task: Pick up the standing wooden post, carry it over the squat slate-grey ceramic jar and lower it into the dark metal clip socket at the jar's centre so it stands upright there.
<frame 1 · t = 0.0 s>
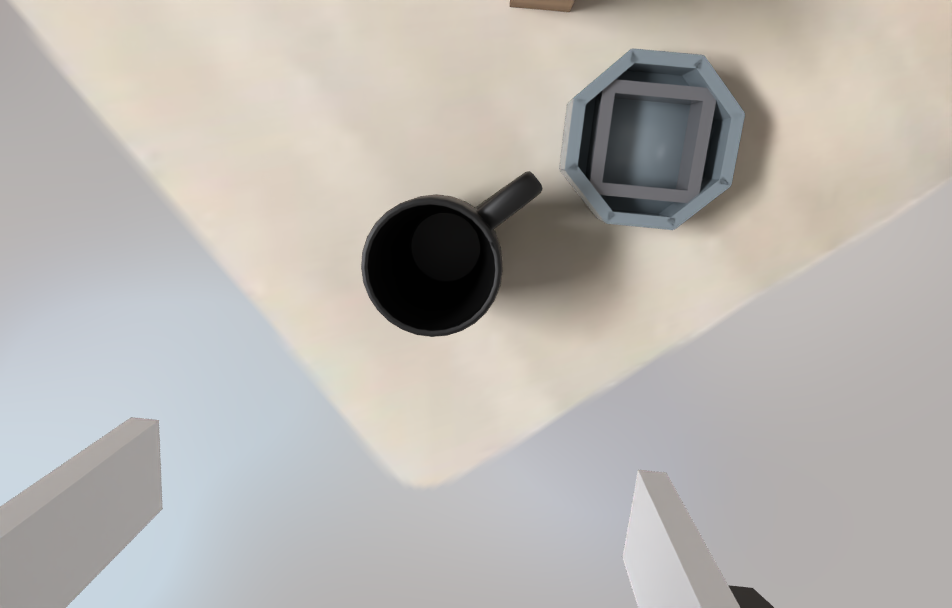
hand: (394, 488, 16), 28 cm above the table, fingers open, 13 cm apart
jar: (640, 144, 40), on the table
mug: (466, 231, 42), on the table
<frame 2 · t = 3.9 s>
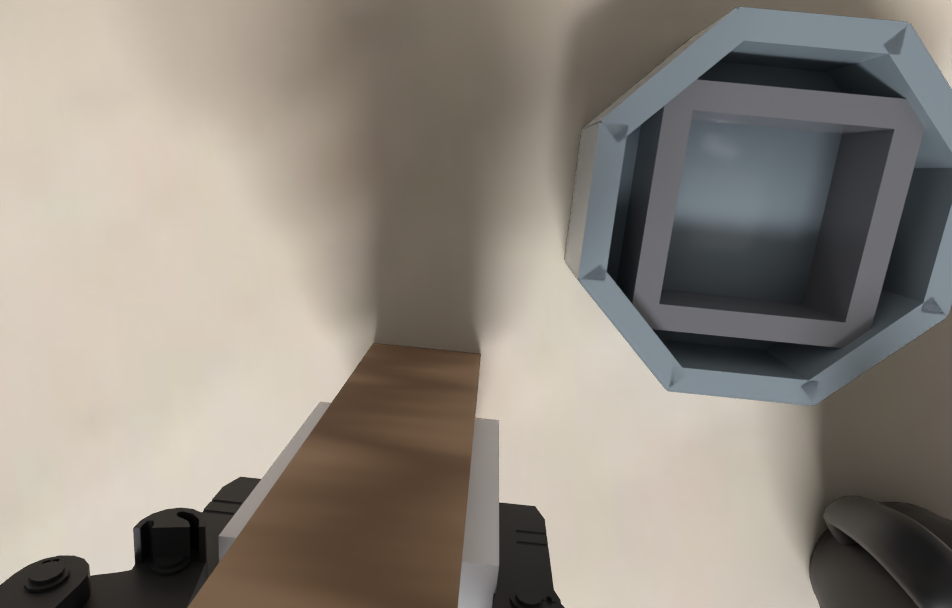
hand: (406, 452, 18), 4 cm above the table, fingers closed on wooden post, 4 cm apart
wooden post: (423, 398, 22), on the table, touching gripper
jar: (730, 211, 20), on the table
mug: (853, 526, 22), on the table
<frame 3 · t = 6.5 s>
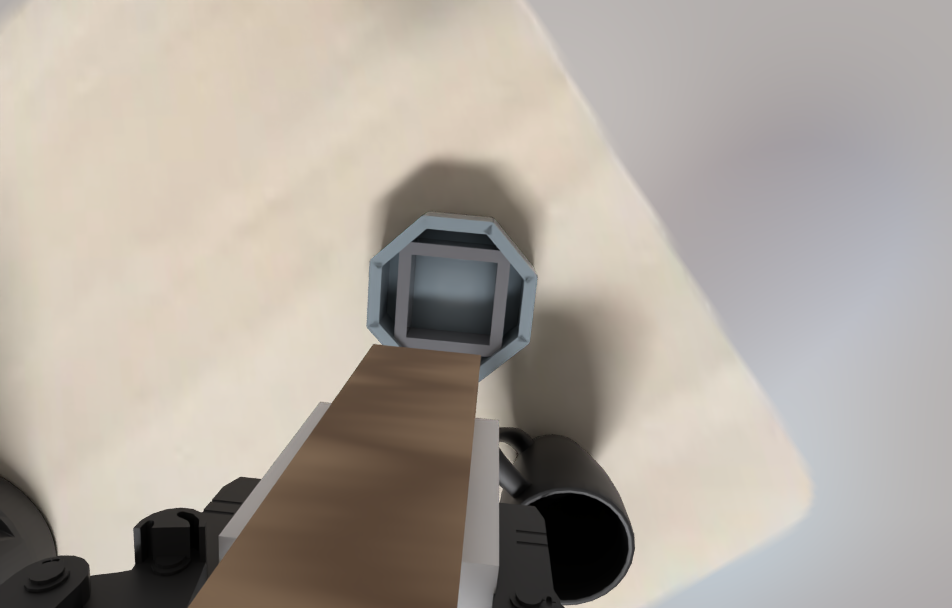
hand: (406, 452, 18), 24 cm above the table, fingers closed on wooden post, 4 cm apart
wooden post: (423, 399, 22), point 20 cm above the table, touching gripper
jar: (454, 290, 41), on the table
mug: (536, 448, 43), on the table
when the fingers open (6 cm above the table, at t = 8.9 s): wooden post drops 1 cm, resting on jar.
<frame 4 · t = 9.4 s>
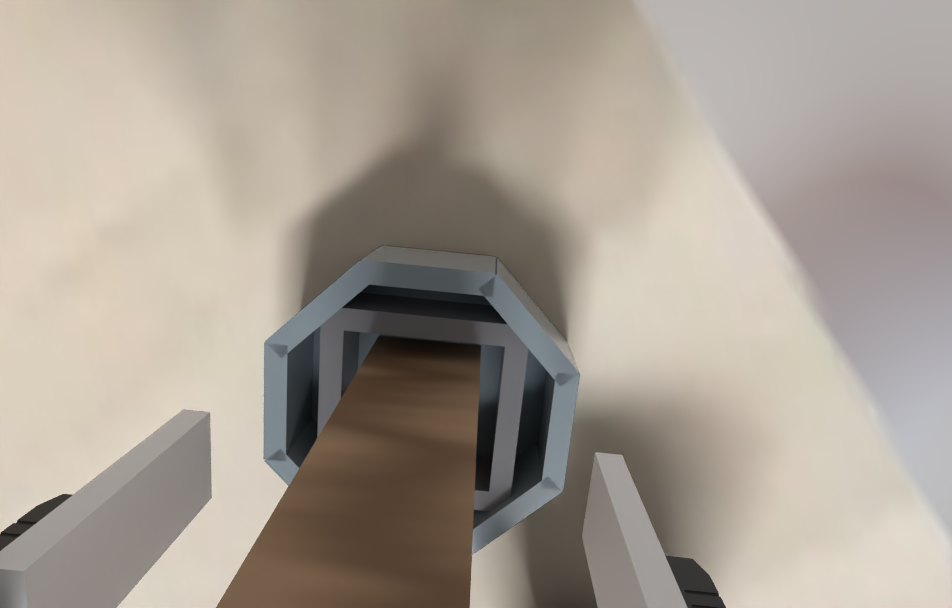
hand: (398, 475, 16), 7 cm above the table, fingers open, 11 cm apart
wooden post: (426, 388, 23), point 1 cm above the table, touching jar
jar: (428, 381, 23), on the table
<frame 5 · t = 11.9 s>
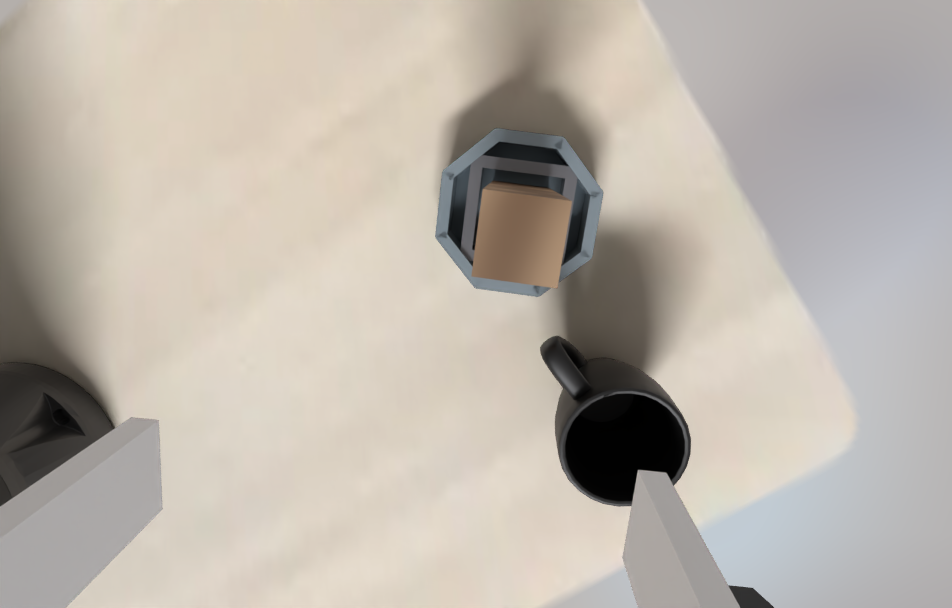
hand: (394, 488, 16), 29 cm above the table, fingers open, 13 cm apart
wooden post: (516, 212, 41), point 1 cm above the table, touching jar
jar: (517, 211, 42), on the table
mug: (587, 371, 45), on the table
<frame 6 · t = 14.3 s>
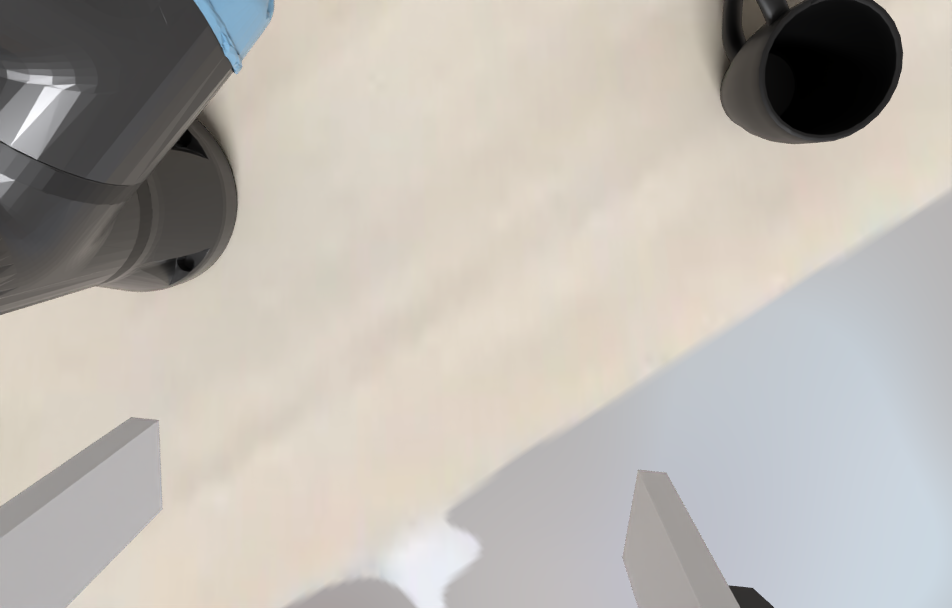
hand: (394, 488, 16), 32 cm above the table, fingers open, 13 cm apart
mug: (743, 68, 42), on the table
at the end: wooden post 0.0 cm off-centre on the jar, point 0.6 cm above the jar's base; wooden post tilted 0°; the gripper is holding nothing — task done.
